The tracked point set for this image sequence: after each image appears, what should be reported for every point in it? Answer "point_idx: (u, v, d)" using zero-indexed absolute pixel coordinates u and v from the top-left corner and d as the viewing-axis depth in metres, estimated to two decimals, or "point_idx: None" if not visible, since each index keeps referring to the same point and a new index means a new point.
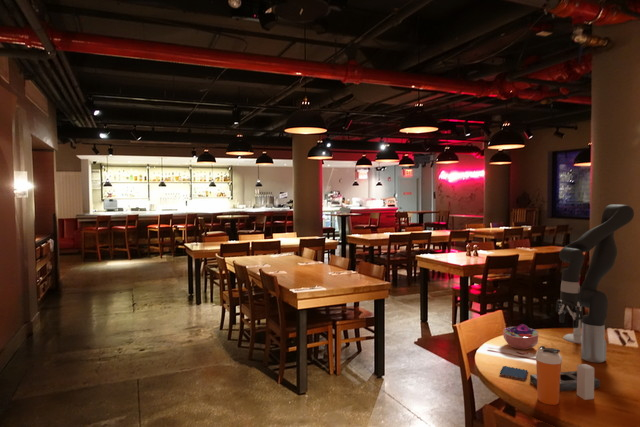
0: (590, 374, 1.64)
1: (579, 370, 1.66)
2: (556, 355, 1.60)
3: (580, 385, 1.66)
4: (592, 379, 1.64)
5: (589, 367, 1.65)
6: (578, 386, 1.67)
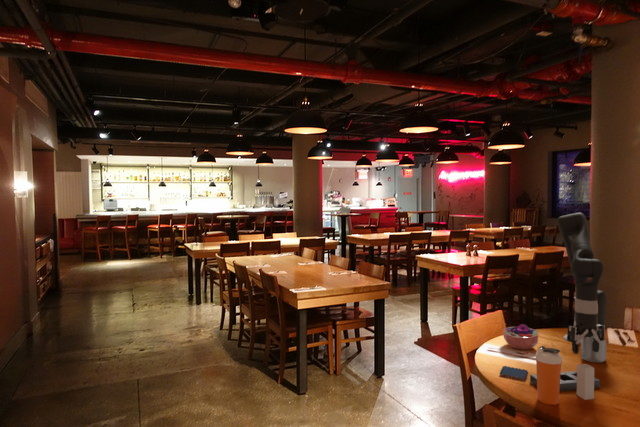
0: (590, 374, 1.64)
1: (579, 370, 1.66)
2: (556, 355, 1.60)
3: (580, 385, 1.66)
4: (592, 379, 1.64)
5: (589, 367, 1.65)
6: (578, 386, 1.67)
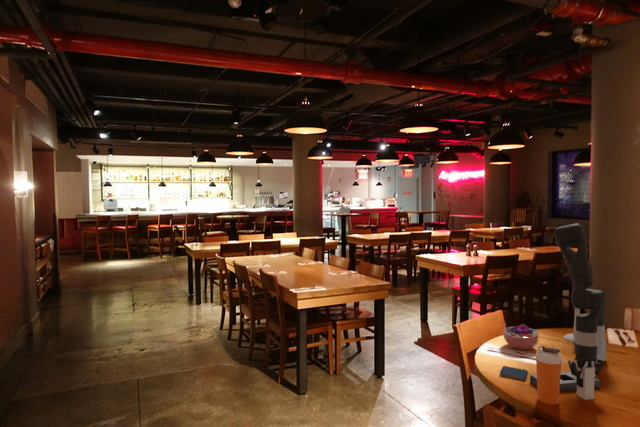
0: (590, 374, 1.64)
1: None
2: (556, 355, 1.60)
3: None
4: (592, 379, 1.64)
5: (589, 367, 1.65)
6: (578, 386, 1.67)
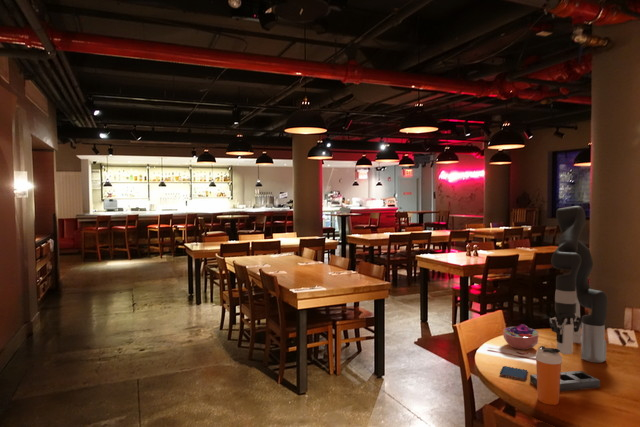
0: (569, 330, 1.75)
1: None
2: (556, 355, 1.60)
3: None
4: (571, 335, 1.75)
5: (568, 324, 1.75)
6: (558, 342, 1.77)
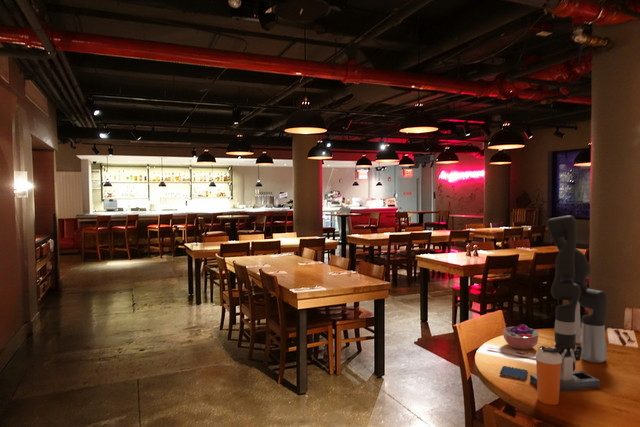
0: (569, 363, 1.75)
1: None
2: (556, 355, 1.60)
3: None
4: (571, 368, 1.75)
5: (568, 356, 1.76)
6: None
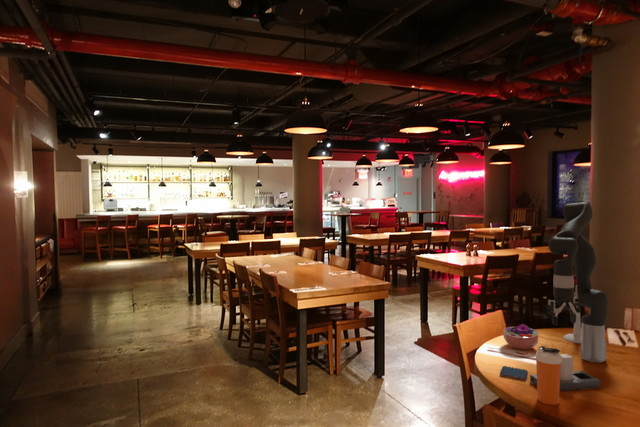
0: (569, 363, 1.75)
1: None
2: (556, 355, 1.60)
3: None
4: (571, 368, 1.75)
5: (568, 356, 1.76)
6: None
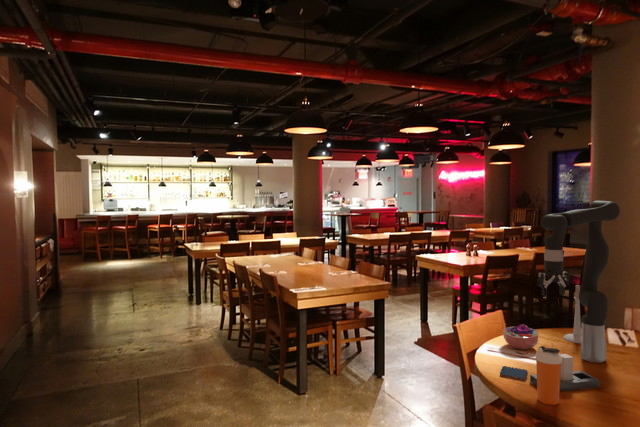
0: (569, 363, 1.75)
1: None
2: (556, 355, 1.60)
3: None
4: (571, 368, 1.75)
5: (568, 356, 1.76)
6: None
